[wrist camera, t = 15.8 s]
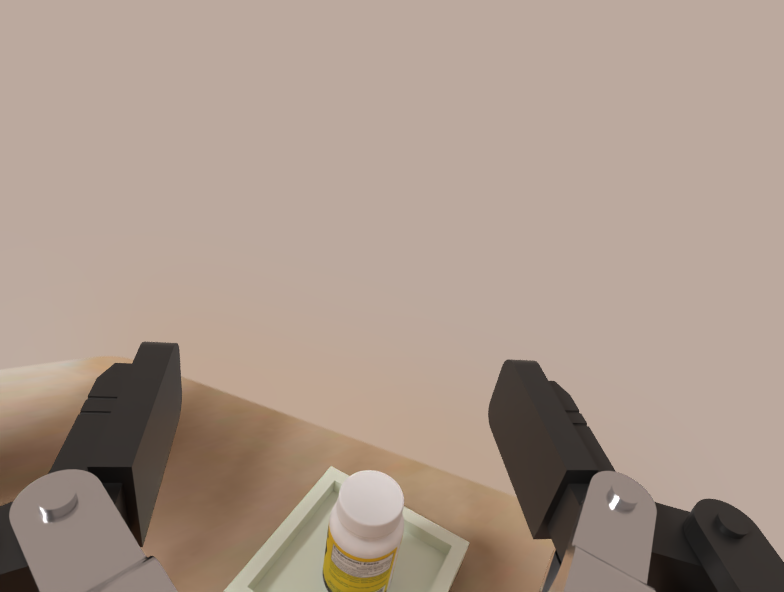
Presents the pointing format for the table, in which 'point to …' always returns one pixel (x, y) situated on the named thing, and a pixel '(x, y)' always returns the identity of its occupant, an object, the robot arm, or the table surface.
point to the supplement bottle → (364, 534)
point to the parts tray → (308, 543)
